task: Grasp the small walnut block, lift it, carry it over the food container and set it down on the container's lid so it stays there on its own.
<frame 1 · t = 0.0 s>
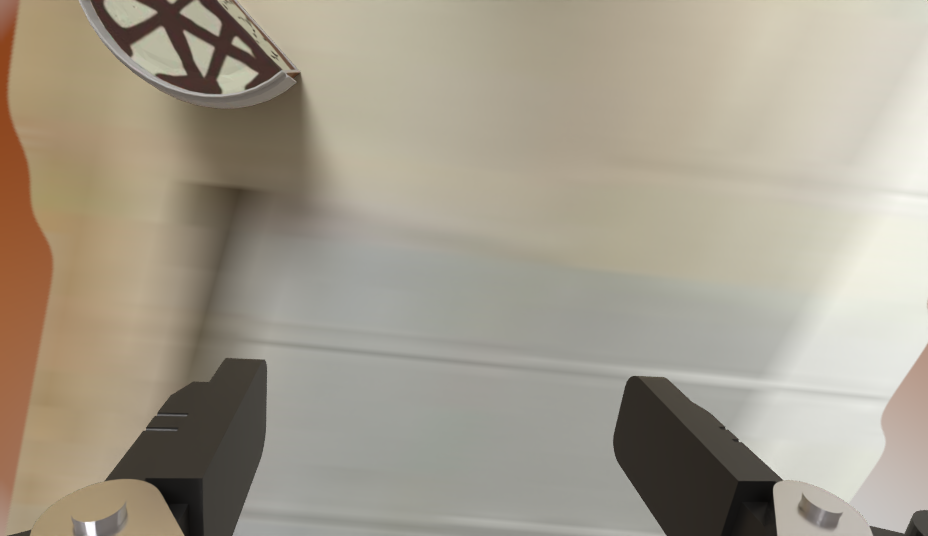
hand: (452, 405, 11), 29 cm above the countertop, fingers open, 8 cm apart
food container: (217, 46, 34), on the countertop
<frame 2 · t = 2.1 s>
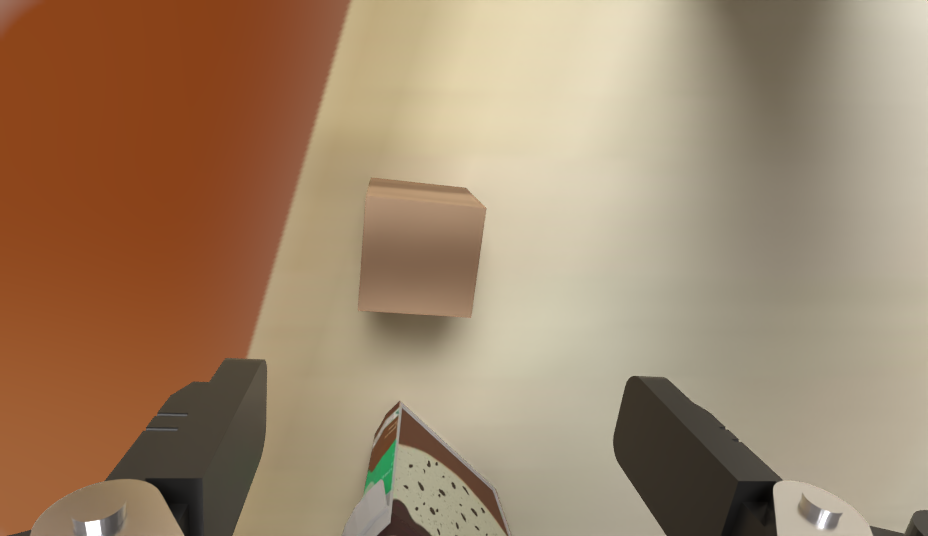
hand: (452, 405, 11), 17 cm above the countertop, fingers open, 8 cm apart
walnut block: (414, 228, 27), on the countertop
food container: (413, 473, 32), on the countertop
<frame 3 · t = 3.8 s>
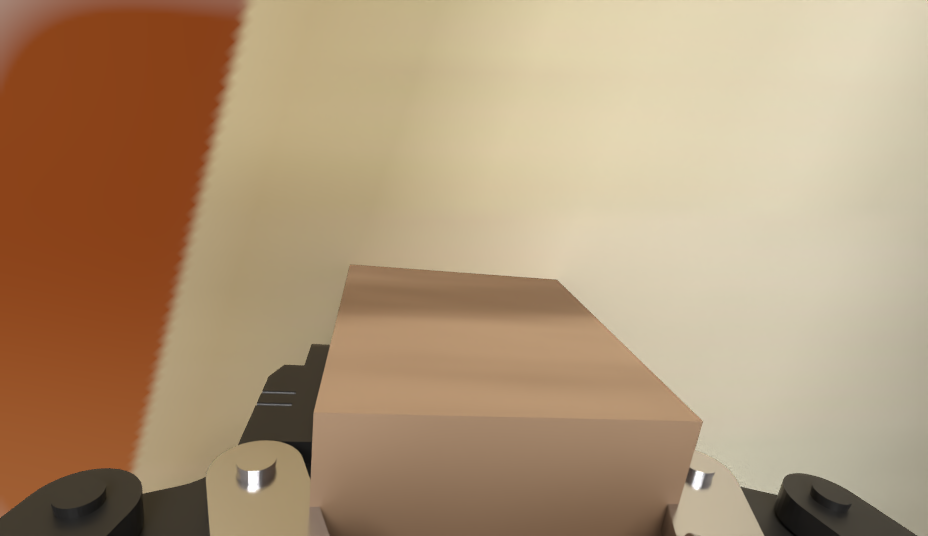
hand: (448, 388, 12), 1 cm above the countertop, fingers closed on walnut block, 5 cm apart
walnut block: (445, 366, 13), on the countertop, touching gripper
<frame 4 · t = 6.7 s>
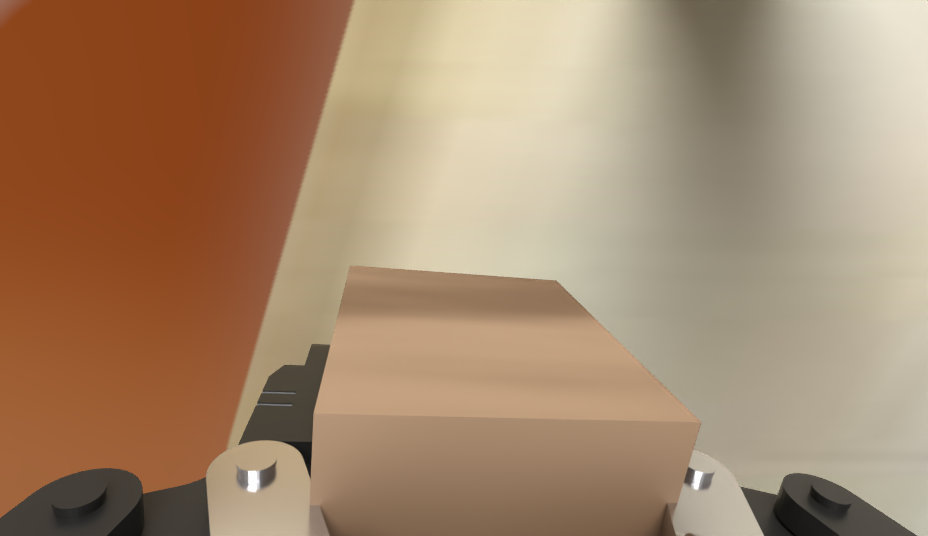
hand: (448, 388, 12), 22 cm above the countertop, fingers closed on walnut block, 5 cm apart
walnut block: (445, 367, 13), point 21 cm above the countertop, touching gripper
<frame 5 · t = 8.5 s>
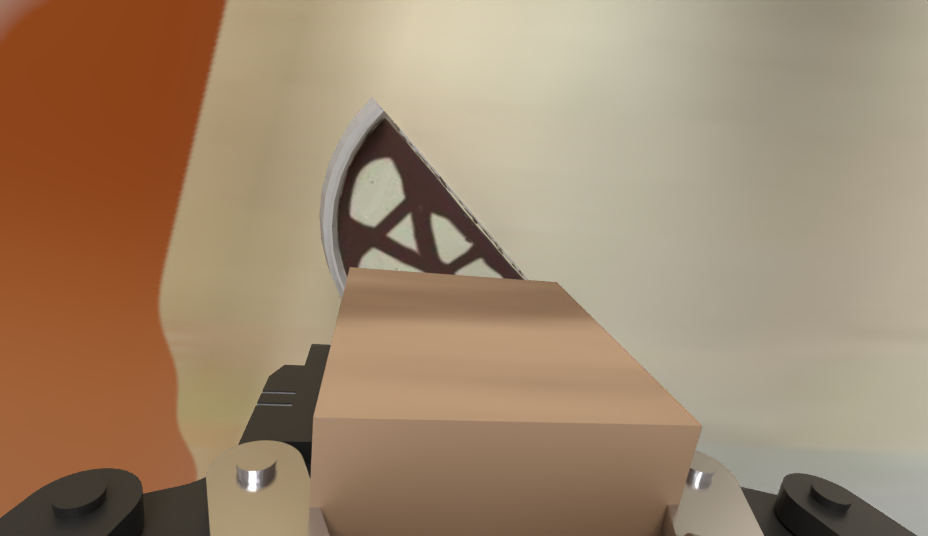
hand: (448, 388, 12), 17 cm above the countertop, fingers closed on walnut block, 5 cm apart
walnut block: (445, 369, 13), point 16 cm above the countertop, touching gripper
food container: (412, 229, 27), on the countertop
when the fingers open (13 cm above the countertop, at t = 9.6 s): walnut block drops 2 cm, resting on food container.
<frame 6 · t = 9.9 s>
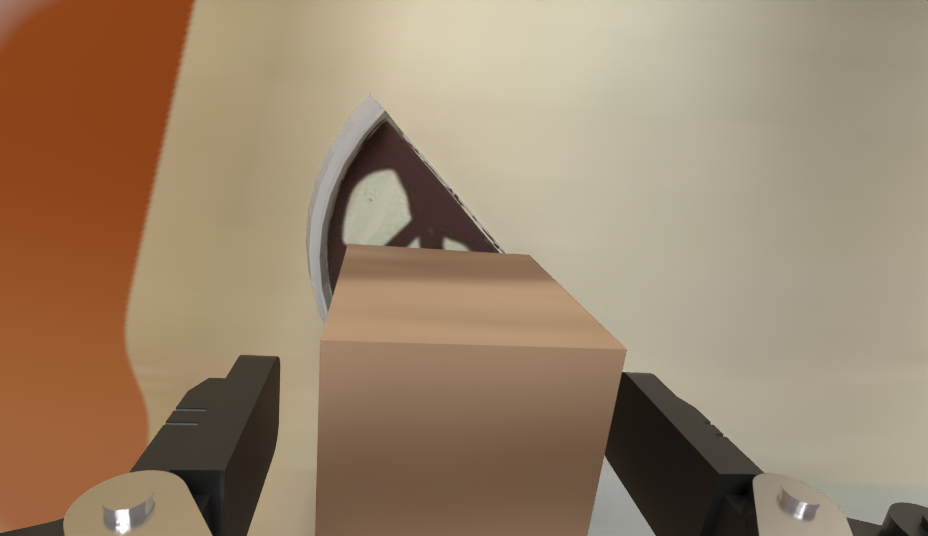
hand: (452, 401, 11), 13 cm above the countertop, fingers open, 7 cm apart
walnut block: (433, 333, 14), point 10 cm above the countertop, touching food container
food container: (417, 247, 24), on the countertop, touching walnut block
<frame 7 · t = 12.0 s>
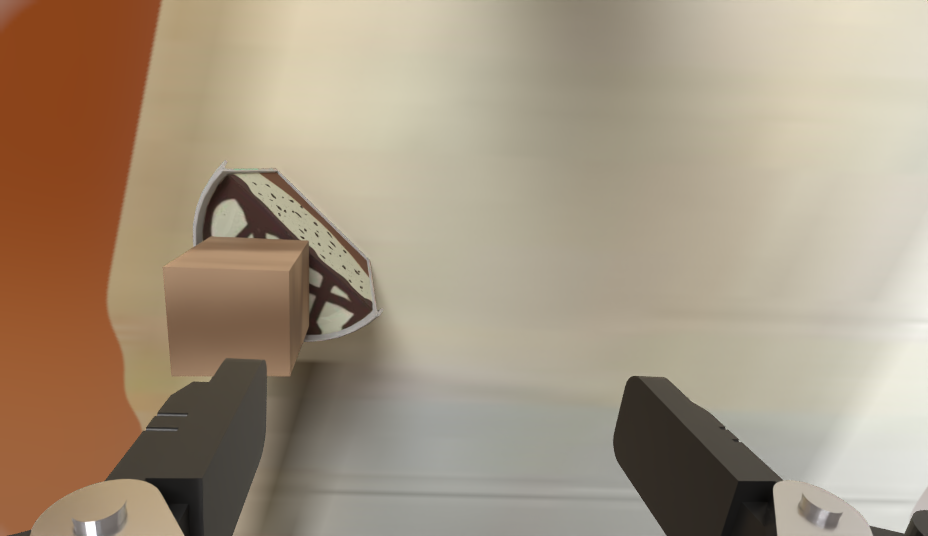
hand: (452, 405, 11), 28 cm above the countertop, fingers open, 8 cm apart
walnut block: (261, 282, 27), point 10 cm above the countertop, touching food container
food container: (295, 243, 37), on the countertop, touching walnut block
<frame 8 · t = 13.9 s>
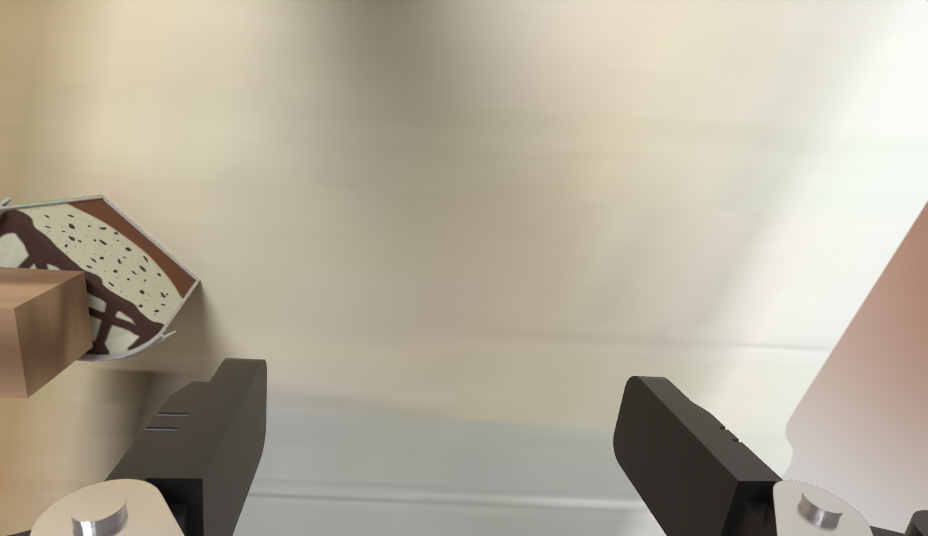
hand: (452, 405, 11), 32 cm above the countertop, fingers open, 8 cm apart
walnut block: (43, 308, 30), point 10 cm above the countertop, touching food container
food container: (127, 263, 40), on the countertop, touching walnut block
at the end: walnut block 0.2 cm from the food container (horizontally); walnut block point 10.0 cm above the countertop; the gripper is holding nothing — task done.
